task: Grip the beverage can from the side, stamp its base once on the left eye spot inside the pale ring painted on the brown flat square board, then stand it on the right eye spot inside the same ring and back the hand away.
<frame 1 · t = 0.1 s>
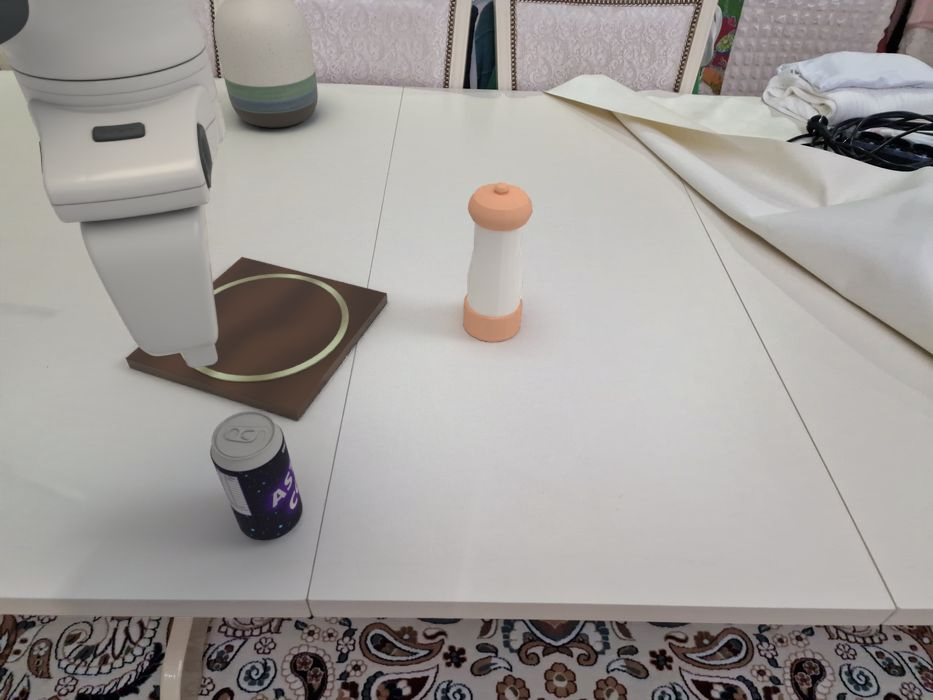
hand: (200, 313, 42), 23 cm above the table, tool pointing down, fingers open, 8 cm apart
pepper shaker: (491, 324, 78), on the table
vase: (278, 118, 123), on the table
brown flat square board: (267, 332, 75), on the table
beverage can: (272, 519, 56), on the table
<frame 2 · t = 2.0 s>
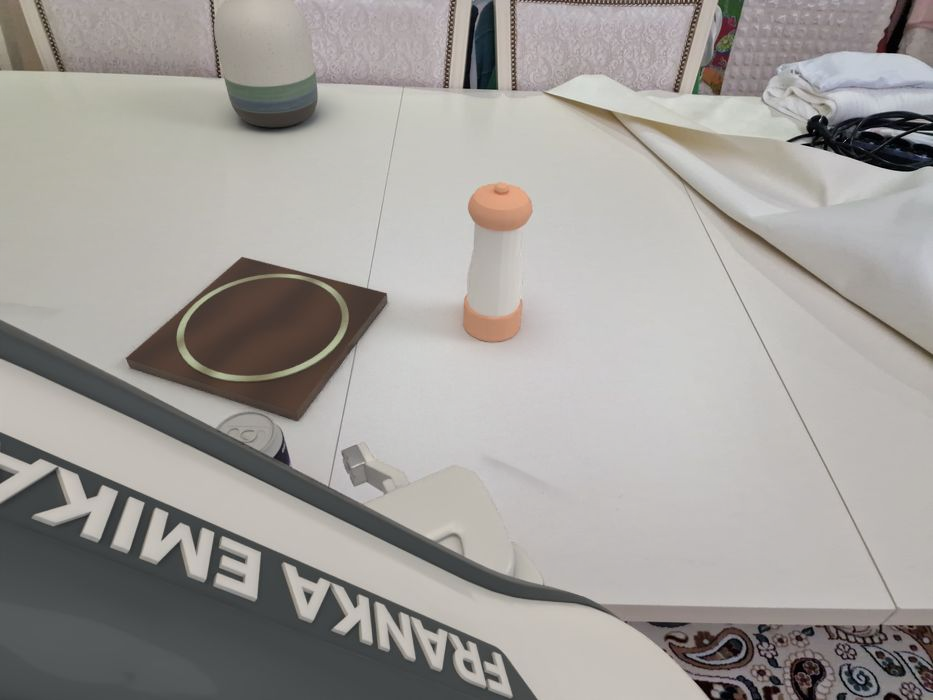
hand: (276, 482, 35), 20 cm above the table, tool horizontal, fingers open, 8 cm apart
nothing on the table moved.
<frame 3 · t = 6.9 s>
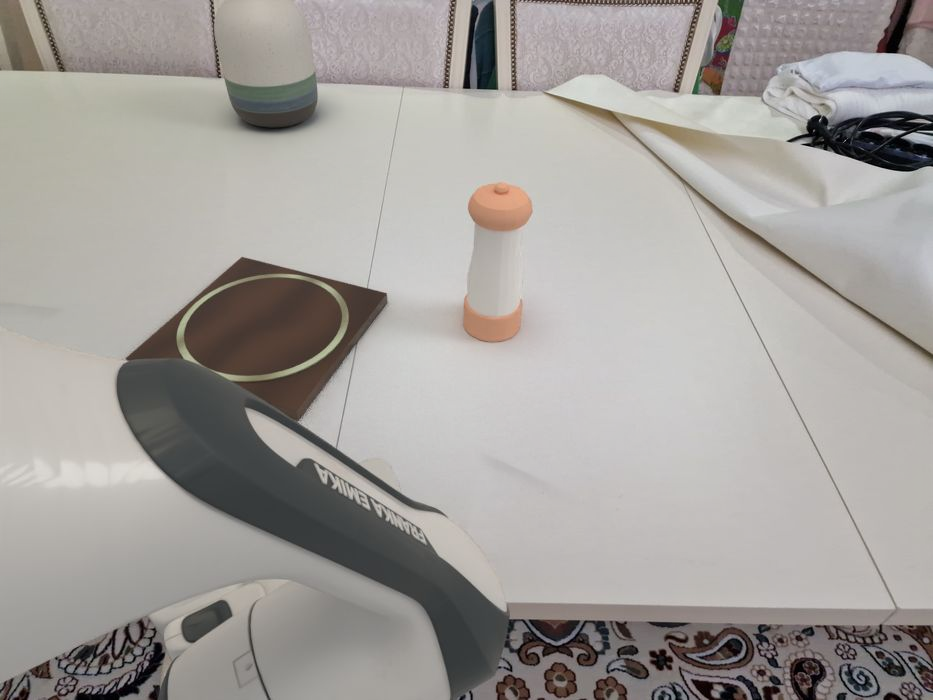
hand: (255, 468, 52), 7 cm above the table, tool horizontal, fingers closed on beverage can, 5 cm apart
beverage can: (273, 519, 56), on the table, touching gripper
everything else where it was.
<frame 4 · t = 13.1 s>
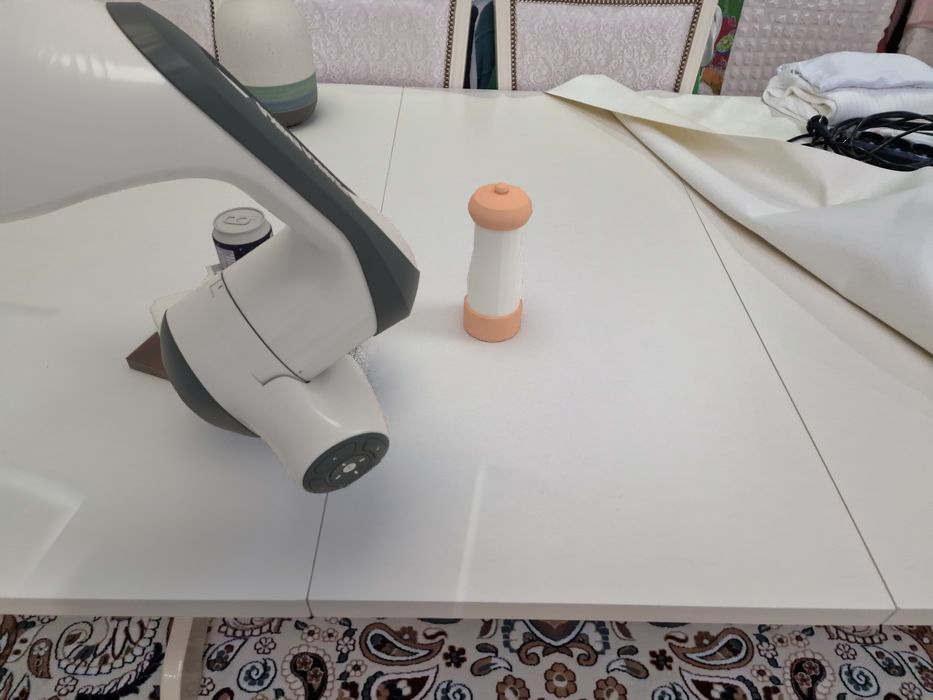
hand: (248, 262, 64), 13 cm above the table, tool horizontal, fingers closed on beverage can, 5 cm apart
beverage can: (263, 316, 68), point 6 cm above the table, touching gripper
everything else where it was.
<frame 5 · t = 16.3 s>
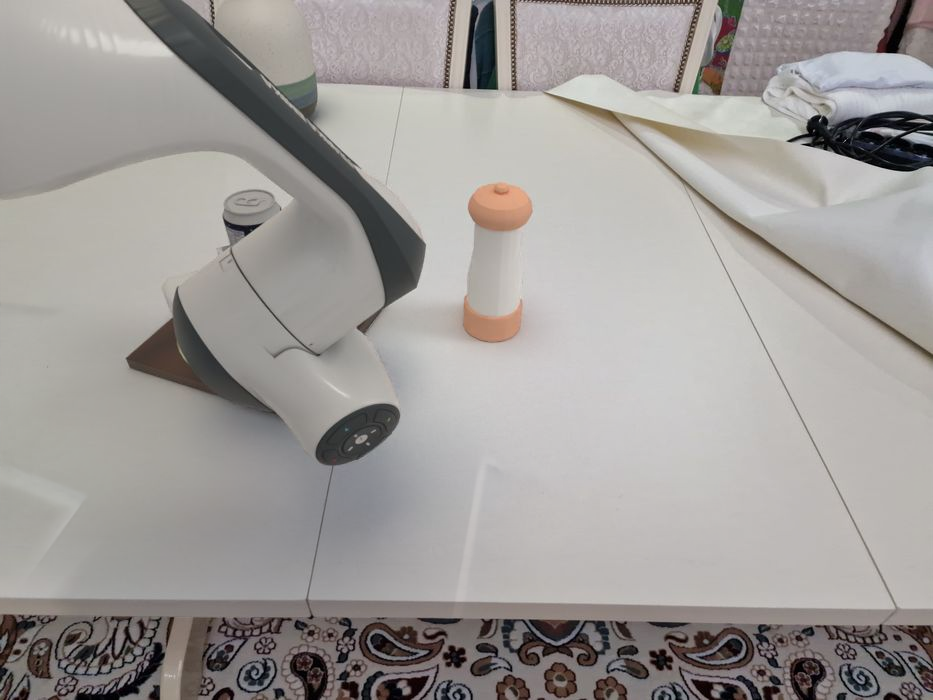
hand: (257, 244, 65), 14 cm above the table, tool horizontal, fingers closed on beverage can, 5 cm apart
beverage can: (272, 299, 69), point 7 cm above the table, touching gripper
everything else where it was.
when the fingers open (8 cm above the table, at t = 19.2 s): beverage can stays where it is, resting on brown flat square board.
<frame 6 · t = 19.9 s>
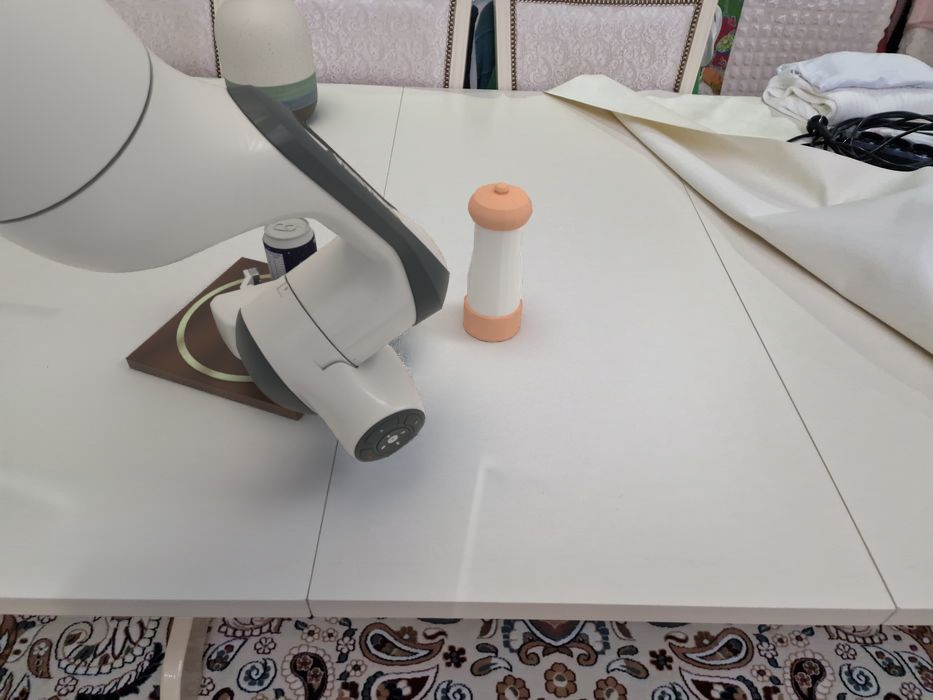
hand: (290, 263, 72), 8 cm above the table, tool horizontal, fingers open, 8 cm apart
beverage can: (303, 312, 76), point 2 cm above the table, touching brown flat square board
everything else where it was.
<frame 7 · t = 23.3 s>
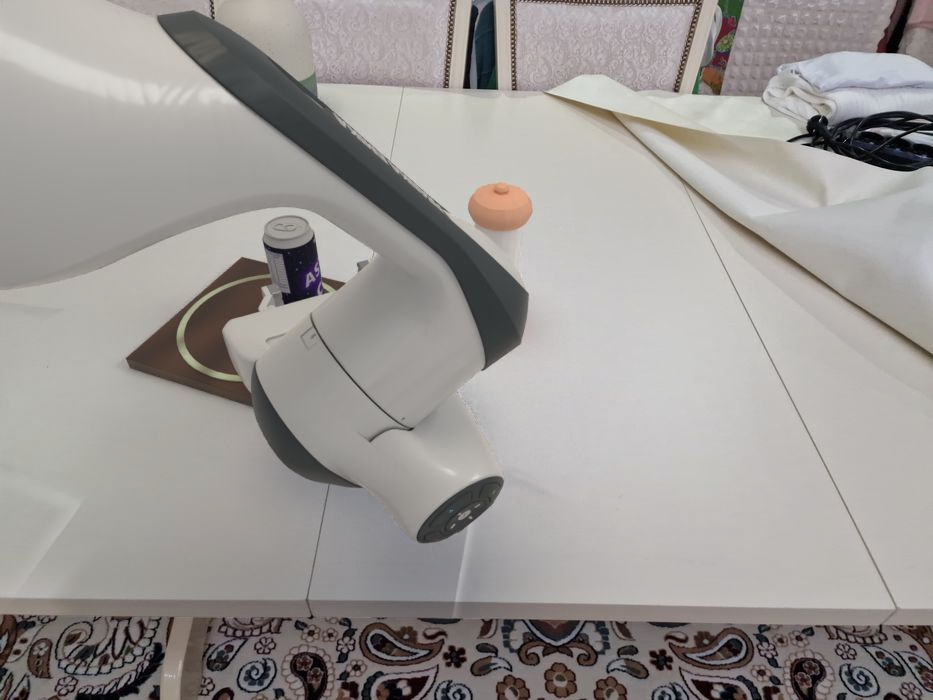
hand: (318, 278, 59), 14 cm above the table, tool horizontal, fingers open, 8 cm apart
nothing on the table moved.
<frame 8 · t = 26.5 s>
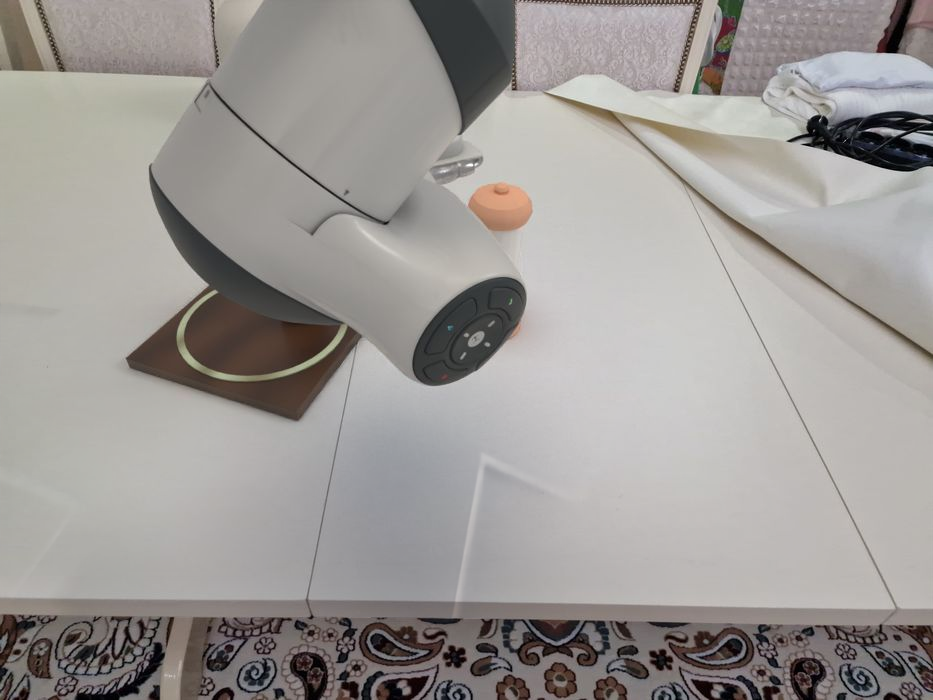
hand: (294, 120, 49), 30 cm above the table, tool horizontal, fingers open, 8 cm apart
nothing on the table moved.
at the end: beverage can 0.2 cm from the target spot on the brown flat square board, point 1.5 cm above the brown flat square board's base; beverage can tilted 0°; the gripper is holding nothing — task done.
